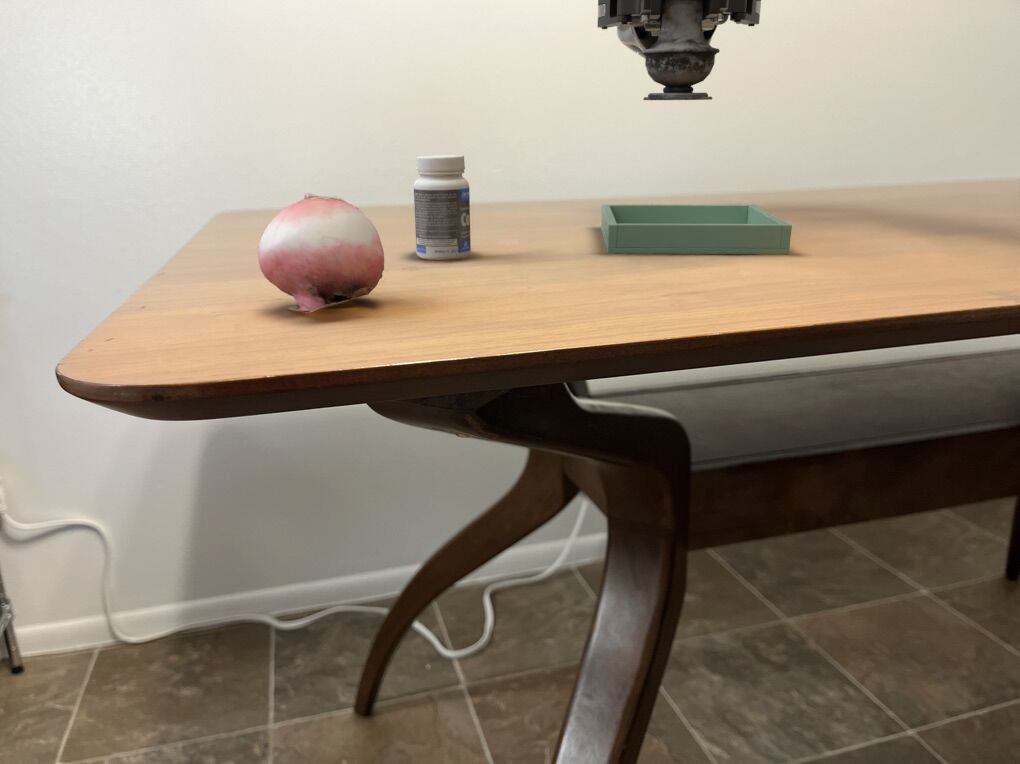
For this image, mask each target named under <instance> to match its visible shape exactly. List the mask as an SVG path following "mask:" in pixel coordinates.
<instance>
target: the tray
mask: <svg viewBox="0 0 1020 764" xmlns="http://www.w3.org/2000/svg"><path fill="white" fill-rule="evenodd" d="M600 213H601V214H600V216H601V217H600V230H601V234H602V236H603V241H604V245H605V248H606V252H607V254H645V255H647V254H649V255H650V254H654V255H656V254H658V255H660V254H661V255H663V254H664V255H665V254H667V255H668V254H670V255H671V254H673V255H674V254H675V255H677V254H679V255H789V254H790V247H791V240H792V239H791V237H792V231H793V229H792V228H793V225H792V224H790V223H789V222H787V221H785V220H784V219H781V218H780V217H778V216H776V215H775V214H772V213H770V212H769V211H767V210H765V209H764V208H762V207H759V206H757V205H756V204H601V211H600Z"/></svg>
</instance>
